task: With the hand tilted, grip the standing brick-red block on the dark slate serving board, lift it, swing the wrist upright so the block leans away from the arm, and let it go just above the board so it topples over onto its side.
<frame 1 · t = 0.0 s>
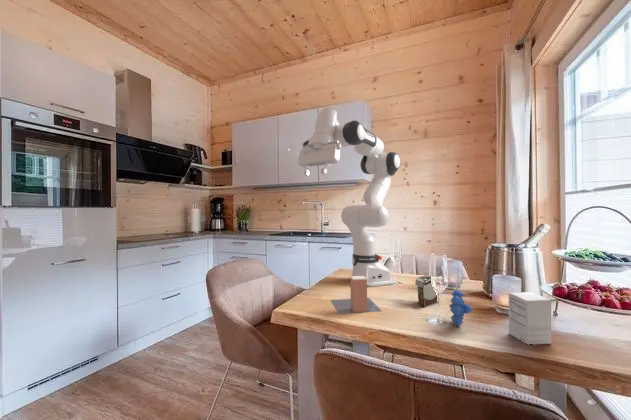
hand: (314, 174, 117), 52 cm above the table, tool tilted 20°, fingers open, 8 cm apart
white drawer cabinet: (529, 339, 83), on the table
grapes: (460, 326, 92), on the table
slate board: (354, 307, 109), on the table
food container: (425, 303, 114), on the table
block: (358, 310, 104), point 1 cm above the table, touching slate board
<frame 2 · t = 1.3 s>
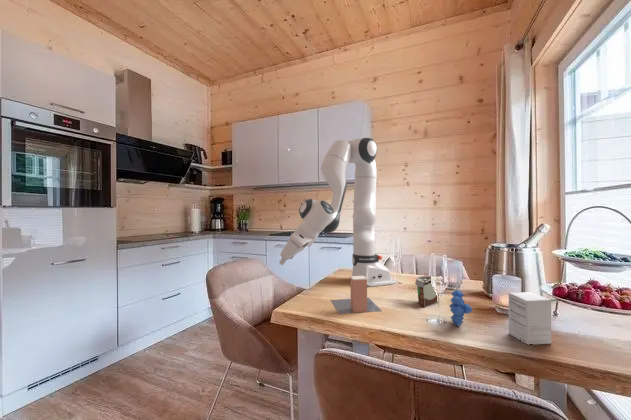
hand: (285, 260, 120), 16 cm above the table, tool tilted 40°, fingers open, 8 cm apart
nothing on the table moved.
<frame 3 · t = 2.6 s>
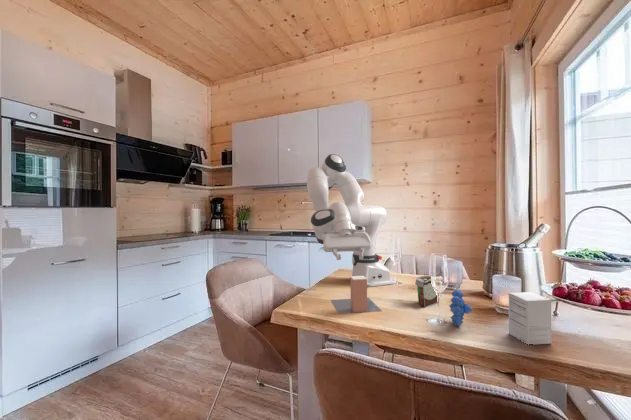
hand: (350, 258, 115), 18 cm above the table, tool tilted 45°, fingers open, 8 cm apart
nothing on the table moved.
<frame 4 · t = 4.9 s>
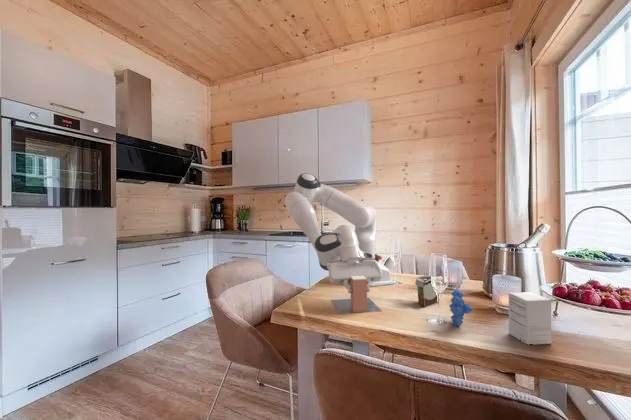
hand: (359, 291, 104), 8 cm above the table, tool tilted 45°, fingers closed on block, 5 cm apart
block: (358, 310, 104), point 1 cm above the table, touching gripper, slate board
everything else where it was.
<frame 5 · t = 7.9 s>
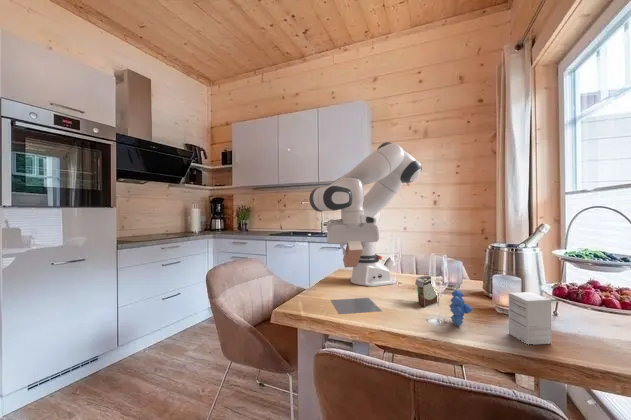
hand: (353, 254, 111), 20 cm above the table, tool pointing down, fingers closed on block, 5 cm apart
block: (349, 263, 116), point 16 cm above the table, tilted 44°, touching gripper
everything else where it was.
when the fingers open (9 cm above the table, at t = 10.0 s): block drops 2 cm and tips over, resting on slate board.
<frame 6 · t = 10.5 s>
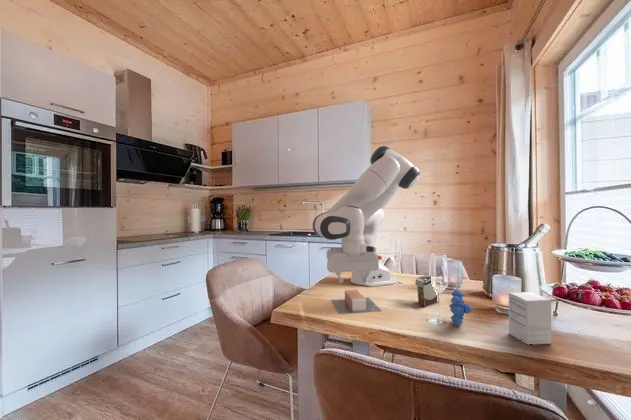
hand: (353, 282, 112), 9 cm above the table, tool pointing down, fingers open, 8 cm apart
block: (350, 294, 115), point 3 cm above the table, tilted 90°, touching slate board
everything else where it was.
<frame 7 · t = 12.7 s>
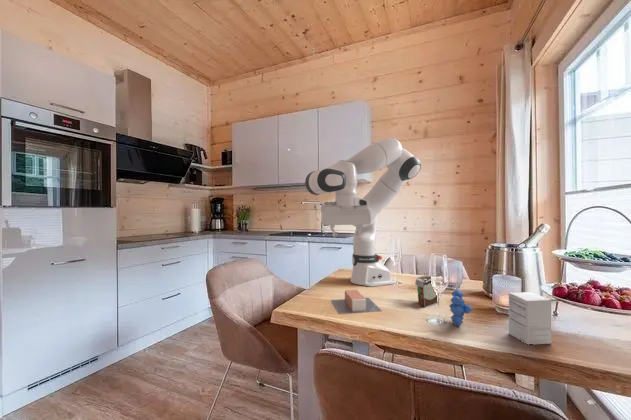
hand: (346, 236, 115), 27 cm above the table, tool pointing down, fingers open, 8 cm apart
nothing on the table moved.
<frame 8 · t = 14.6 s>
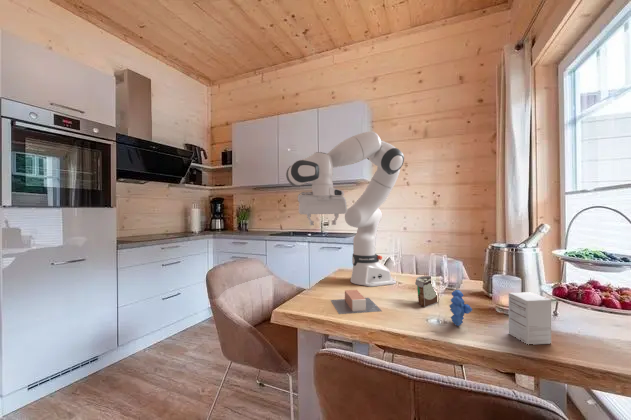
hand: (322, 225, 119), 31 cm above the table, tool pointing down, fingers open, 8 cm apart
nothing on the table moved.
at the end: block tilted 90°; block inside the target area (7.2 cm from its centre), point 3.0 cm above the table; the gripper is holding nothing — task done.
